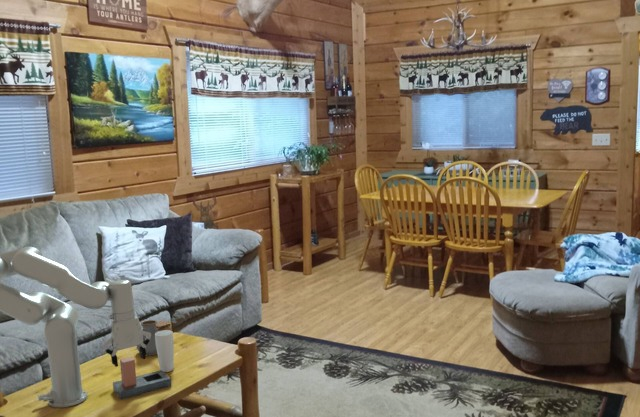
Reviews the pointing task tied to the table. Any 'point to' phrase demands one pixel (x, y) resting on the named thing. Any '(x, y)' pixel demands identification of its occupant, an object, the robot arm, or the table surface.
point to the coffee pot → (151, 328)
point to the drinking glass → (165, 350)
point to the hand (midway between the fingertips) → (129, 361)
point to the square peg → (128, 371)
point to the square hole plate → (143, 385)
